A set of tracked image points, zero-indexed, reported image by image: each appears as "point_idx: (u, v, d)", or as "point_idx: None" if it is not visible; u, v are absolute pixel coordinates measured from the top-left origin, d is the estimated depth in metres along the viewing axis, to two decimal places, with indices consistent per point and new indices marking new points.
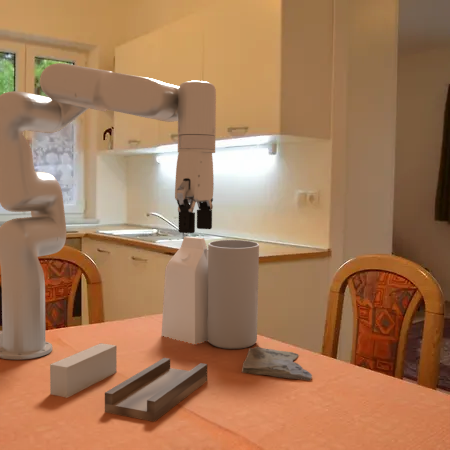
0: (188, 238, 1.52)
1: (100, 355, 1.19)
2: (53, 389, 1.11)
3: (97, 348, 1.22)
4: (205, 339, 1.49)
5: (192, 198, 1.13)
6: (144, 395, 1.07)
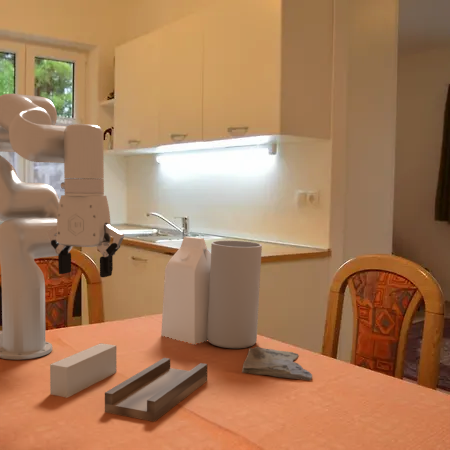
0: (188, 238, 1.52)
1: (100, 355, 1.19)
2: (53, 389, 1.11)
3: (97, 348, 1.22)
4: (205, 339, 1.49)
5: (107, 241, 1.15)
6: (144, 395, 1.07)
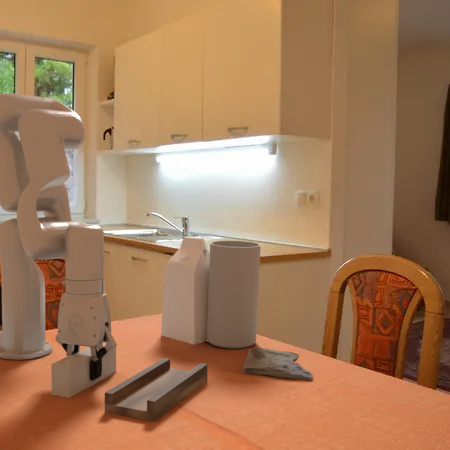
0: (187, 238, 1.52)
1: None
2: (54, 388, 1.11)
3: None
4: (204, 339, 1.49)
5: None
6: (144, 395, 1.07)
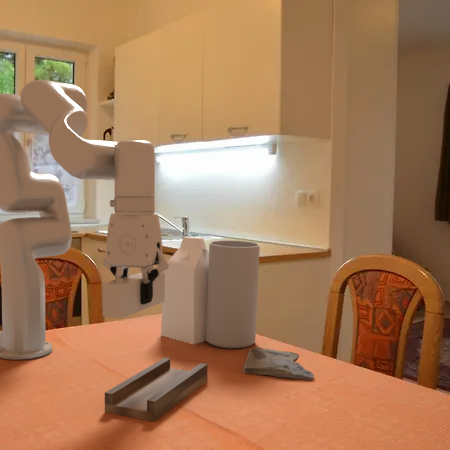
0: (187, 238, 1.52)
1: None
2: (106, 309, 1.05)
3: None
4: (204, 339, 1.49)
5: None
6: (144, 395, 1.07)
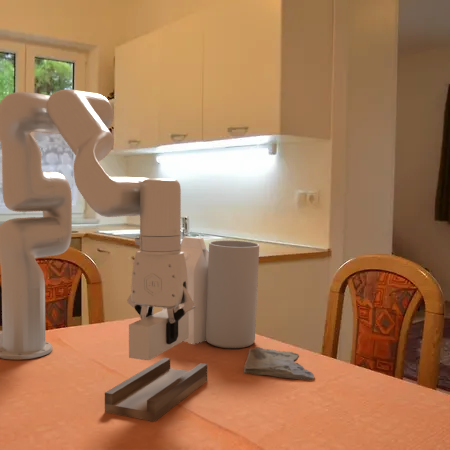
0: (187, 238, 1.52)
1: None
2: (132, 351, 1.04)
3: None
4: (204, 339, 1.49)
5: None
6: (144, 395, 1.07)
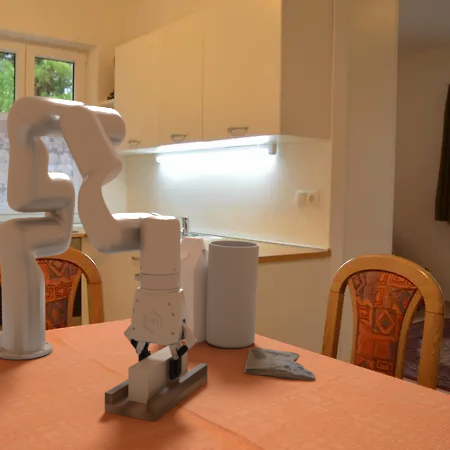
0: (187, 238, 1.52)
1: None
2: (132, 394, 1.04)
3: (169, 350, 1.15)
4: (204, 339, 1.49)
5: (184, 337, 1.10)
6: None
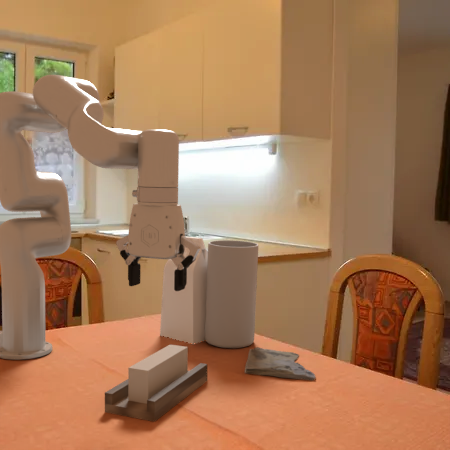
0: None
1: (174, 357, 1.12)
2: (132, 394, 1.04)
3: (169, 350, 1.15)
4: (203, 339, 1.49)
5: (181, 253, 1.09)
6: None
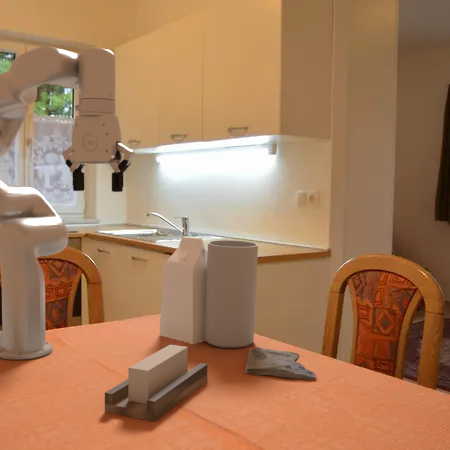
0: (186, 238, 1.52)
1: (174, 357, 1.12)
2: (132, 394, 1.04)
3: (169, 350, 1.15)
4: (203, 339, 1.49)
5: (118, 159, 1.23)
6: None
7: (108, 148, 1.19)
